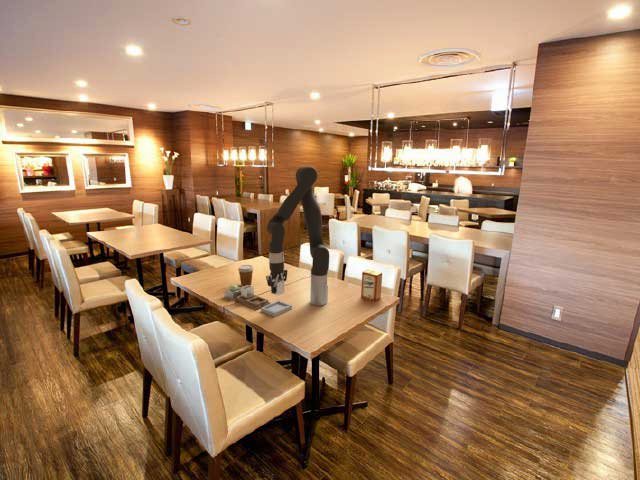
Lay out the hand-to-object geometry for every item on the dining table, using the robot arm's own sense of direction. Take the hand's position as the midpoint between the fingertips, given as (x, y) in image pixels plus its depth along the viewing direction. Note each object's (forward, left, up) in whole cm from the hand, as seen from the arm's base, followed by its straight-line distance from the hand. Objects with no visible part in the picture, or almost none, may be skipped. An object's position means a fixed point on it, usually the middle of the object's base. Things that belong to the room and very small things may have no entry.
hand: (277, 291), depth 170 cm
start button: (+3, -32, -8) cm, 33 cm away
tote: (0, -1, -11) cm, 11 cm away
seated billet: (+2, -22, -10) cm, 24 cm away
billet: (0, 0, -1) cm, 1 cm away
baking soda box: (-48, +29, -11) cm, 57 cm away
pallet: (+2, -18, -11) cm, 21 cm away
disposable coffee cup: (-14, -42, -11) cm, 45 cm away
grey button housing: (+3, -32, -11) cm, 33 cm away
